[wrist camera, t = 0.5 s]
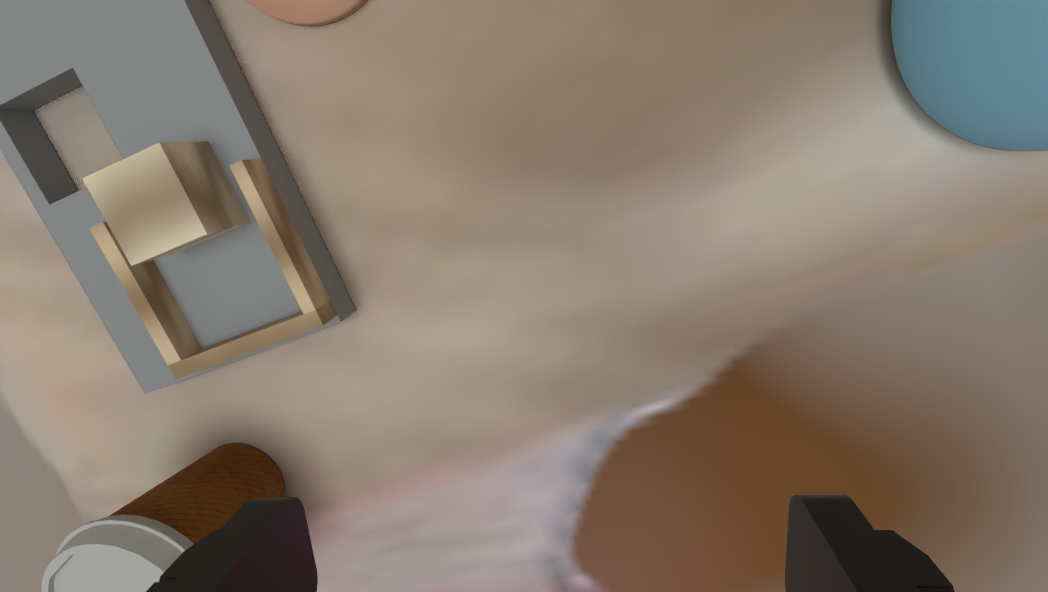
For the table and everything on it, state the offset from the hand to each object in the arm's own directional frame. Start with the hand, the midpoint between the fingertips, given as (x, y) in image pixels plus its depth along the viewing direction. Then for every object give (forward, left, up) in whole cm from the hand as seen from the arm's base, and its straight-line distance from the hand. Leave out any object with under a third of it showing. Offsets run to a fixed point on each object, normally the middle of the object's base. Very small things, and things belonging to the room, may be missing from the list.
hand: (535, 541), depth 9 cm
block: (-11, -20, -24) cm, 33 cm away
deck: (-13, -22, -27) cm, 37 cm away
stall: (-6, -20, -24) cm, 32 cm away
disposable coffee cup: (+8, -29, -27) cm, 40 cm away
